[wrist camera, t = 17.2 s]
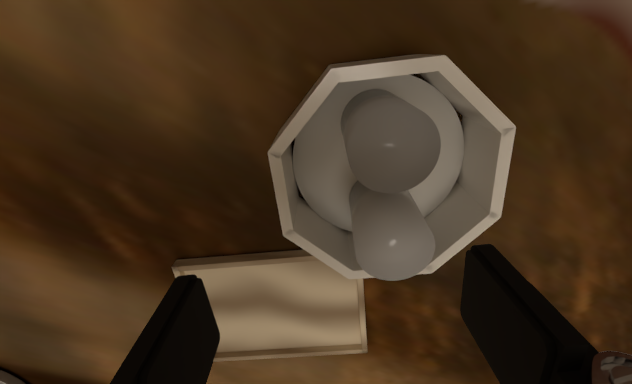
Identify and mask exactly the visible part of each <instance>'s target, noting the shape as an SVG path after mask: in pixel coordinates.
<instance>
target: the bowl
mask: <svg viewBox="0 0 632 384" xmlns="http://www.w3.org/2000/svg"><path fill="white" fill-rule="evenodd" d="M418 73H419V74H420V75H421V76H422V77H423V78H424V79H425V80H426V81H427V82H428V83H427V82H426V81H424V80H422V79H420V78H417V77H415V76H412V75H409V74H418ZM370 89H383V90H386V91H389V92H391V93H393V94H394V95H396V96H398V97H399V98H401V99H403V100H404V101H406V102H408V103H410V104H411V105H413V106H415V107H416V108H418V109H420V110H421V111H423V112H424V113H426V114H427V115H428V116H429V117H430V118H431V119H432V120H433V122H434V123H435V125H436V127H437V129H438V131H439V134H440V140H441V149H440V155H439V159H438V161H437V164H436V166H435V167H434V169H433V171H432V172H431V173H430V175H429V176H428V177H427V178H426V179H425V180H424V181H422V182H421V183H420V184H418V185H417V186H415V187H413V188H411V189H409V192H410V194H411V196H412V197H413V199H414V201H415V203H416V205H417V206H418V208H419V210H420V212H421V213H422V215H423V217H424V219H425V221H426V222H427V224H428V226H429V228H430V230H431V231H432V233H433V236H434V238H435V252H434V255H433V258H432V260H431V261H430V263H429V264H428V265H427V267H425V268H424V269H423V270H422V271H421V272H419V273H418V274H430V273H433V272H434V271H435V270H437V269H438V268H439V267H440V266H442V265H443V264H444V263H445V262H446V261H448V260H449V259H450V258H451V257H453V256H454V255H455V254H456V253H458V252H459V251H460V250H461V249H463V248H464V247H465V246H466V245H467V244H469V243H470V242H471V241H472V240H474V239H475V238H476V237H477V236H479V235H480V234H481V233H482V232H484V231H485V230H486V229H487V228H488V227H490V226H491V225H492V224H493V223H495V222H496V221H497V220H498V219H500V217H501V214H502V208H503V202H504V196H505V190H506V184H507V178H508V172H509V166H510V160H511V154H512V148H513V142H514V136H515V130H516V126H515V125H514V124H513V123H512V122H511V121H510V120H509V119H508V118H507V117H506V116H505V115H504V114H503V113H502V112H501V111H500V110H499V109H498V108H497V107H496V106H495V105H494V104H493V103H492V102H491V101H490V100H489V99H488V98H487V97H486V96H485V95H484V94H483V93H482V92H481V91H480V90H479V89H478V88H477V87H476V86H475V85H474V84H473V83H472V82H471V81H470V79H469V78H468V77H467V76H466V75H465V74H464V73H463V72H462V71H461V70H460V69H459V68H458V67H457V66H456V65H455V64H454V63H453V62H452V61H451V60H450V59H449V58H448V57H447V56H446V55H428V54H413V55H405V56H396V57H388V58H380V59H372V60H363V61H355V62H347V63H338V64H330V65H329V66H328V67H327V68H326V69H325V71H324V72H323V73H322V75H321V76H320V77H319V79H318V80H317V81H316V83H315V84H314V85H313V87H312V88H311V89H310V91H309V92H308V93H307V95H306V96H305V97H304V99H303V100H302V101H301V103H300V104H299V105H298V107H297V108H296V109H295V111H294V112H293V113H292V115H291V116H290V117H289V119H288V120H287V121H286V123H285V124H284V125H283V127H282V128H281V129H280V131H279V132H278V134H277V136H276V138H275V140H274V141H273V143H272V145H271V147H270V149H269V151H268V158H269V163H270V168H271V174H272V179H273V184H274V190H275V195H276V201H277V206H278V211H279V217H280V222H281V227H282V233H283V235H284V237H286V238H287V239H289V240H290V241H292V242H293V243H295V244H296V245H298V246H299V247H301V248H302V249H304V250H305V251H307V252H308V253H310V254H311V255H313V256H314V257H316V258H317V259H319V260H320V261H322V262H323V263H325V264H326V265H328V266H329V267H331V268H332V269H334V270H335V271H337V272H338V273H340V274H341V275H343V276H344V277H346V278H348V279H362V278H375V277H373V276H371V275H369V274H368V273H366V272H365V271H364V270H363V269H362V268H361V267H360V265H359V264H358V262H357V259H356V256H355V249H354V241H353V232H352V223H351V215H350V206H349V194H350V191H351V189H352V187H353V185H354V184H355V183H356V182H357V181H358V180H357V178H356V177H355V176H354V174H353V173H352V170H351V168H350V165H349V161H348V157H347V153H346V149H345V144H344V140H343V136H342V132H341V117H342V113H343V111H344V109H345V107H346V105H347V104H348V102H349V101H350V100H351V99H352V98H353V97H354V96H356V95H357V94H359V93H361V92H363V91H366V90H370ZM453 107H454V108H455V109H456V110H457V111H458V112H459V113H460V114H461V115H462V126H461V123H460V120H459V118H458V115H457V113H456V111H455V109H454V108H453ZM295 137H296V138H295ZM294 138H295V143H294V148H293V153H292V147H291V142H292V141H293V140H294ZM456 180H457V181H456ZM455 182H456V183H455ZM297 185H298V187H297ZM298 188H299V190H300V192H301V194H302V196H303V198H304V199H305V200H306V201H305V200H303V199H302V198H300V197H299V193H298ZM347 230H348V231H347Z"/></svg>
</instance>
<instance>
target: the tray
mask: <svg viewBox="0 0 632 384" xmlns="http://www.w3.org/2000/svg"><path fill="white" fill-rule="evenodd" d="M172 270H173V273H174V275H175V278H176V277H178V276H182V275H192V274H194V275H196V276H197V278H201V279H202V281H203V284H204V287H205V290H206V293H207V296H208V299H209V302H210V305H211V308H212V311H213V314H214V317H215V320H216V323H217V326H218V329H219V332H220V342H219V345H218V348H217V351H216V354H215V357H214V360H213V362H216V361H233V360H250V359H268V358H285V357H303V356H320V355H338V354H355V353H367V337H366V320H365V304H364V287H363V278H362V279H348V278H346V277H344V276H343V275H341V274H340V273H338V272H337V271H335V270H334V269H332V268H331V267H329V266H328V265H326V264H325V263H323V262H322V261H320V260H319V259H317V258H316V257H314V256H313V255H311V254H310V253H308V252H307V251H305V250H292V251H280V252H267V253H255V254H242V255H230V256H218V257H205V258H193V259H181V260H176V261H175V263H174V264H173V266H172Z"/></svg>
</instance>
